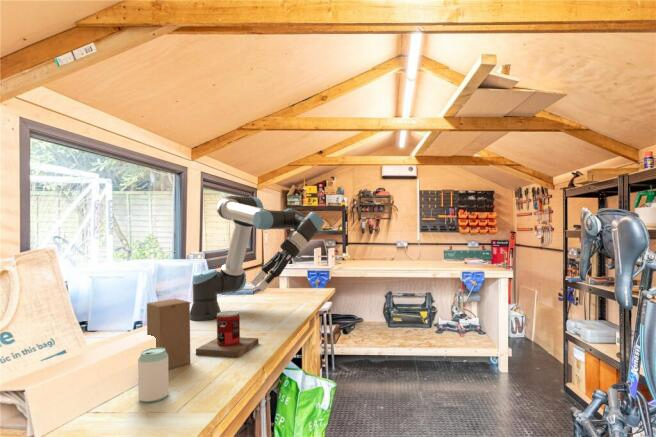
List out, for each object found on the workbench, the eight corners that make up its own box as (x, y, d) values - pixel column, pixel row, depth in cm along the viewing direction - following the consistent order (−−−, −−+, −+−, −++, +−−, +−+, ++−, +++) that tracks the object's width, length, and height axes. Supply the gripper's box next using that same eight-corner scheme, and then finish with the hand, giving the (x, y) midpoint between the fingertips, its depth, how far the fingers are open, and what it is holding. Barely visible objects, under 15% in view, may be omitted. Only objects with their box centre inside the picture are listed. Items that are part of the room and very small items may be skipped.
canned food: (216, 342, 137) (215, 312, 138) (238, 339, 140) (237, 309, 141) (218, 347, 130) (218, 316, 131) (241, 344, 133) (241, 313, 134)
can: (165, 402, 94) (164, 353, 94) (134, 405, 92) (134, 356, 92) (171, 390, 100) (170, 345, 101) (142, 393, 99) (142, 347, 99)
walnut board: (220, 341, 145) (220, 336, 145) (258, 343, 141) (258, 338, 141) (195, 354, 130) (195, 348, 130) (237, 357, 125) (237, 351, 125)
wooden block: (191, 363, 121) (190, 301, 122) (159, 372, 114) (159, 306, 114) (177, 356, 128) (176, 298, 129) (146, 365, 121) (146, 302, 121)
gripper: (310, 253, 136) (271, 298, 130) (291, 250, 159) (256, 288, 153) (296, 238, 134) (255, 284, 128) (278, 238, 157) (243, 276, 151)
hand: (256, 286), depth 140 cm, fingers open, 13 cm apart
